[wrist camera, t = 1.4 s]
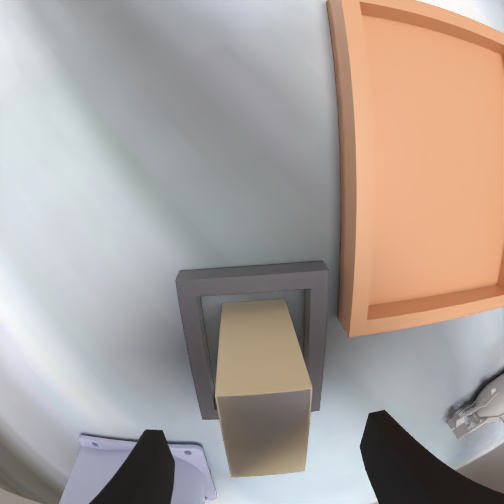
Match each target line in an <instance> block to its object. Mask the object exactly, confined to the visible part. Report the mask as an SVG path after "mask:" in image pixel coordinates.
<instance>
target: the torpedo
mask: <svg viewBox="0 0 504 504" xmlns="http://www.w3.org/2000/svg"><path fill="white" fill-rule="evenodd" d="M472 407H474V408H472ZM470 408H472V409H471V410H470V411H468V412H467V413H465V415H464V416H462V417H461V418H460V416H459V415H461V414H463V413H464V412H466V411H467V410H469V409H470ZM471 413H472V414H471ZM470 414H471V415H470ZM465 416H466V417H468V419H467V420H468V421H469V424H468V425H467V426H466V425H465V424H464V421H465ZM503 419H504V373H503V374H501V375H500V376H498V377H497V378H496V379H494V380H493V381H491V382H490V383H488V384H487V385H486V386H485V387H484V388H483V389H482V391H481V392H480V393H479V394H478V396H477V398H476V401H475V402H474V403H472V404H471V405H470V406H468V407H467V408H465V409H463V410H462V411H460V412H459V413H458V414H457V415H455V416H454V417H452V418H450V419H449V420H447V421H446V422H447V423H448V425H449V426H450V428H451V429H453V428H455V427H456V428H455V430H453V432H454V434H455V435H456V437H457V439H459V438H461V437H463V436H464V435H466V434H467V433H469V432H472V431H474V430H475V429H477V428H478V427H480V426H481V425H483V424H485V423H496V422H498V421H501V420H502V421H503V422H504V420H503ZM480 422H481V423H480ZM469 427H472V429H470V431H469V429H468V428H469Z"/></svg>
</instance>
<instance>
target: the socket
mask: <svg viewBox="0 0 504 504" xmlns="http://www.w3.org/2000/svg"><path fill="white" fill-rule="evenodd" d="M328 279H329V270H328V268H327V267H326V266H325V264H324V263H323V262H322V261H314V262H301V263H287V264H273V265H259V266H245V267H230V268H215V269H199V270H184V271H180V272H179V274H178V276H177V279H176V287H177V293H178V300H179V306H180V312H181V317H182V323H183V329H184V334H185V340H186V345H187V350H188V355H189V360H190V365H191V370H192V375H193V380H194V384H195V389H196V394H197V398H198V402H199V407H200V411H201V415H202V420H212V419H219V415H218V409H217V404H216V398H215V389H214V383H213V377H212V371H211V365H210V359H209V353H208V346H207V340H206V333H205V326H204V319H203V312H202V305H201V297H200V296H215V295H231V294H246V293H260V292H274V291H286V290H298V289H305V336H304V362H305V365H306V368H307V372H308V375H309V378H310V381H311V385H312V401H311V412H313V411H319V409H320V400H321V390H322V379H323V367H324V354H325V340H326V324H327V305H328Z"/></svg>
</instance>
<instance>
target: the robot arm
mask: <svg viewBox="0 0 504 504" xmlns="http://www.w3.org/2000/svg"><path fill="white" fill-rule="evenodd" d="M78 441H79V443H80V444H81V446H82V447H81V449H80V452H79V454H78V456H77V459H76V461H75V464H74V466H73V469H72V471H71V474H70V476H69V479H68V481H67V484H66V486H65V489H64V492H63V494H62V497H61V500H60V504H204V500H214V499H216V498H217V493H216V490H215V487H214V484H213V481H212V478H211V475H210V471H209V468H208V465H207V461H206V458H205V455H204V451H203V449H202V447H200V446H198V445H180V444H168V443H167V440H166V438H165V435H164V433H163V430H147V429H146V430H145V431H144V432H143V434H142V436H141V437H140V439H139V440H138V442H132V441H122V440H113V439H105V438H98V437H91V436H85V435H80V436H79V438H78ZM360 450H361V454H362V458H363V462H364V466H365V470H366V472H367V475H368V477H369V480H370V482H371V485H372V487H373V490H374V492H375V495H376V497H377V500H378V502H379V504H504V494H503V493H500V492H497V491H494V490H492V489H489V488H487V487H485V486H483V485H481V484H478V483H476V482H474V481H472V480H470V479H468V478H467V477H465V476H463V475H461V474H460V473H458V472H456V471H455V470H453V469H452V468H450V467H449V466H447V465H446V464H445V463H443V462H442V461H440V460H439V459H438V458H437V457H435V456H434V455H433V454H431V453H430V452H429V451H428V450H427V449H425V448H424V447H423V446H422V445H421V444H420V443H419V442H417V441H416V440H415V439H414V438H413V437H412V436H411V435H410V434H409V433H408V432H407V431H406V430H405V429H403V428H402V427H401V426H400V425H399V424H398V423H397V422H396V421H395V420H394V419H393V418H392V417H391V416H390V415H389V414H388V413H387V412H386V411H385V410H382V411H378V412H373V413H369V415H368V419H367V422H366V426H365V430H364V433H363V437H362V440H361V444H360Z"/></svg>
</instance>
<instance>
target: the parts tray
mask: <svg viewBox="0 0 504 504" xmlns="http://www.w3.org/2000/svg"><path fill="white" fill-rule="evenodd" d="M327 9H328V16H329V23H330V31H331V39H332V48H333V57H334V67H335V78H336V90H337V104H338V119H339V139H340V167H341V248H340V277H339V297H338V313H337V317H338V319H339V321H340V323H341V324H342V326H343V328H344V330H345V331H346V333H347V335H348V337H356V336H363V335H370V334H376V333H382V332H388V331H394V330H400V329H406V328H411V327H416V326H421V325H427V324H431V323H436V322H441V321H446V320H450V319H455V318H459V317H464V316H468V315H472V314H476V313H480V312H484V311H488V310H492V309H496V308H500V307H504V33H501V32H499V31H497V30H495V29H493V28H491V27H489V26H486V25H484V24H482V23H479V22H477V21H475V20H472V19H470V18H467V17H464V16H462V15H459V14H457V13H454V12H451V11H448V10H445V9H442V8H439V7H436V6H433V5H430V4H427V3H423V2H420V1H416V0H328V1H327Z"/></svg>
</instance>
